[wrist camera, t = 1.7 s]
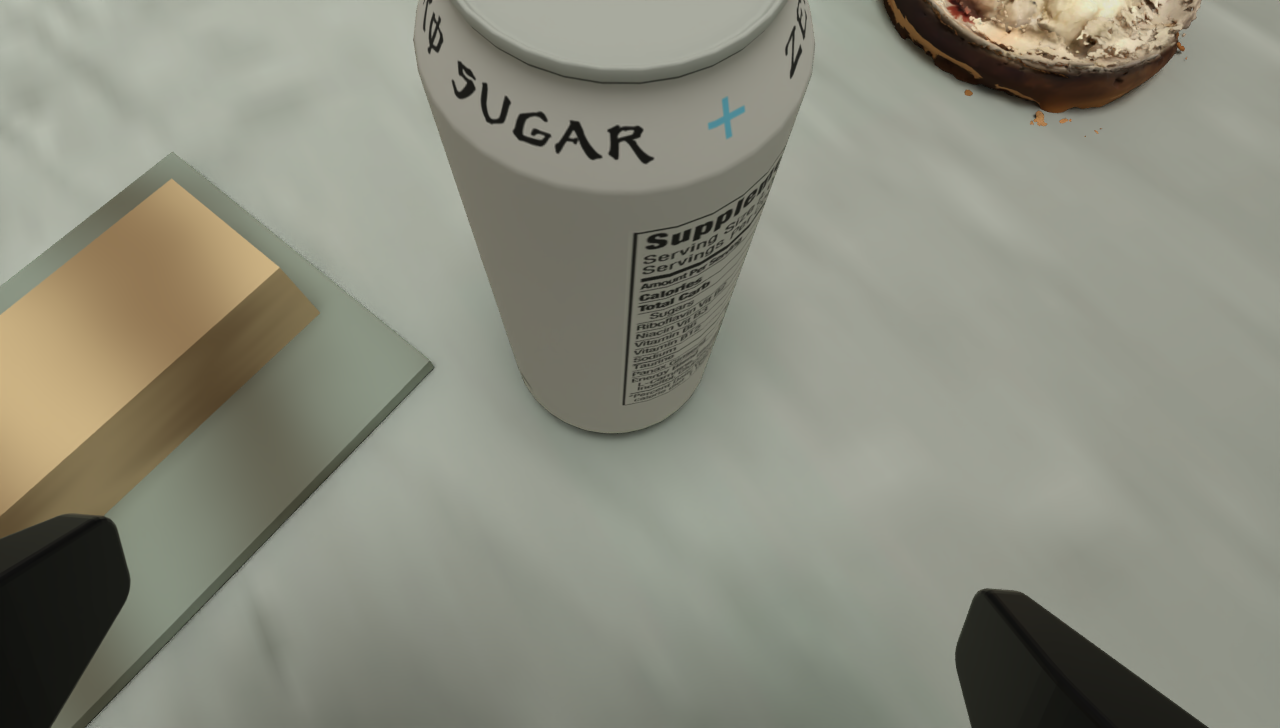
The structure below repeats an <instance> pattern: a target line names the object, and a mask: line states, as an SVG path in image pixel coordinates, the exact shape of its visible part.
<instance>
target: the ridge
mask: <svg viewBox="0 0 1280 728" xmlns="http://www.w3.org/2000/svg"><path fill="white" fill-rule="evenodd" d="M433 368H434V366H433V365H432V363H431V361H430V360H429V359H427V358H426V357H425V356H424V355H422V354H421V353H420V352H419V351H418V350H416V349H415V348H414V347H413V346H411V345H410V344H409V343H408V342H406V341H405V340H404V339H403V338H402V337H400V336H399V335H398V334H397V333H395V332H394V331H393V330H392V329H390V328H389V327H388V326H387V325H386V324H384V323H383V322H382V321H381V320H379V319H378V318H377V317H376V316H374V315H373V314H372V313H371V312H369V311H368V310H367V309H366V308H365V307H363V306H362V305H361V304H360V303H358V302H357V301H356V300H355V299H353V298H352V297H351V296H350V295H349V294H347V293H346V292H345V291H344V290H342V289H341V288H340V287H339V286H337V285H336V284H335V283H334V282H333V281H331V280H330V279H329V278H328V277H326V276H325V275H324V274H323V273H321V272H320V271H319V270H318V269H317V268H315V267H314V266H313V265H312V264H310V263H309V262H308V261H307V260H305V259H304V258H303V257H302V256H300V255H299V254H298V253H297V252H296V251H294V250H293V249H292V248H291V247H289V246H288V245H287V244H286V243H284V242H283V241H282V240H281V239H280V238H278V237H277V236H276V235H275V234H273V233H272V232H271V231H270V230H268V229H267V228H266V227H265V226H264V225H262V224H261V223H260V222H259V221H257V220H256V219H255V218H254V217H252V216H251V215H250V214H249V213H248V212H246V211H245V210H244V209H243V208H241V207H240V206H239V205H238V204H236V203H235V202H234V201H233V200H232V199H230V198H229V197H228V196H227V195H225V194H224V193H223V192H222V191H220V190H219V189H218V188H217V187H215V186H214V185H213V184H212V183H211V182H209V181H208V180H207V179H206V178H204V177H203V176H202V175H201V174H199V173H198V172H197V171H196V170H195V169H193V168H192V167H191V166H190V165H188V164H187V163H186V162H185V161H183V160H182V159H181V158H180V157H179V156H177V155H176V154H175V153H174V152H171V153H170V154H169V155H168V156H166V157H165V158H164V159H162V160H161V161H160V162H159V163H157V164H156V165H155V166H153V167H152V168H151V169H150V170H148V171H147V172H146V173H145V174H143V175H142V176H141V177H139V178H138V179H137V180H136V181H134V182H133V183H132V184H130V185H129V186H128V187H127V188H125V189H124V190H123V191H122V192H120V193H119V194H118V195H116V196H115V197H114V198H113V199H111V200H110V201H109V202H107V203H106V204H105V205H104V206H102V207H101V208H100V209H99V210H97V211H96V212H95V213H93V214H92V215H91V216H90V217H88V218H87V219H86V220H84V221H83V222H82V223H81V224H79V225H78V226H77V227H76V228H74V229H73V230H72V231H70V232H69V233H68V234H67V235H65V236H64V237H63V238H62V239H60V240H59V241H58V242H56V243H55V244H54V245H53V246H51V247H50V248H49V249H47V250H46V251H45V252H44V253H42V254H41V255H40V256H39V257H37V258H36V259H35V260H33V261H32V262H31V263H30V264H28V265H27V266H26V267H24V268H23V269H22V270H21V271H19V272H18V273H17V274H16V275H14V276H13V277H12V278H10V279H9V280H8V281H7V282H5V283H4V284H3V285H1V286H0V538H3V537H5V536H8V535H10V534H13V533H16V532H18V531H21V530H23V529H26V528H28V527H31V526H33V525H36V524H38V523H41V522H44V521H46V520H49V519H51V518H54V517H56V516H59V515H62V514H68V513H77V514H89V515H101V516H105V517H108V518H110V519H111V520H112V521H113V522H114V523H115V524H116V527H117V529H118V533H119V536H120V540H121V544H122V547H123V551H124V555H125V558H126V562H127V566H128V569H129V573H130V578H131V584H130V591H129V594H128V597H127V600H126V602H125V604H124V606H123V608H122V609H121V611H120V613H119V614H118V616H117V618H116V619H115V621H114V623H113V624H112V626H111V628H110V629H109V631H108V633H107V634H106V636H105V638H104V639H103V641H102V643H101V645H100V646H99V648H98V650H97V651H96V653H95V655H94V656H93V658H92V660H91V661H90V663H89V665H88V666H87V668H86V670H85V671H84V673H83V675H82V676H81V678H80V680H79V681H78V683H77V685H76V686H75V688H74V690H73V691H72V693H71V695H70V697H69V698H68V700H67V702H66V703H65V705H64V707H63V708H62V710H61V712H60V713H59V715H58V717H57V718H56V720H55V722H54V723H53V725H52V726H51V728H84V727H85V726H86V725H87V724H88V723H89V722H90V721H91V720H92V719H93V718H94V717H95V716H96V715H97V714H98V713H99V712H100V711H101V710H102V709H103V708H104V707H105V706H106V705H107V704H108V703H109V702H110V701H111V700H112V699H113V698H114V697H115V696H116V694H117V693H118V692H119V691H120V690H121V689H122V688H123V687H124V686H125V685H126V684H127V683H128V682H129V681H130V680H131V679H132V678H133V677H134V676H135V675H136V674H137V673H138V672H139V671H140V670H141V669H142V668H143V667H144V666H145V665H146V664H147V663H148V662H149V661H150V659H151V658H152V657H153V656H154V655H155V654H156V653H157V652H158V651H159V650H160V649H161V648H162V647H163V646H164V645H165V644H166V643H167V642H168V641H169V640H170V639H171V638H172V637H173V636H174V635H175V634H176V633H177V632H178V631H179V630H180V629H181V628H182V627H183V625H184V624H185V623H186V622H187V621H188V620H189V619H190V618H191V617H192V616H193V615H194V614H195V613H196V612H197V611H198V610H199V609H200V608H201V607H202V606H203V605H204V604H205V603H206V602H207V601H208V600H209V599H210V598H211V597H212V596H213V595H214V594H215V593H216V592H217V590H218V589H219V588H220V587H221V586H222V585H223V584H224V583H225V582H226V581H227V580H228V579H229V578H230V577H231V576H232V575H233V574H234V573H235V572H236V571H237V570H238V569H239V568H240V567H241V566H242V565H243V564H244V563H245V562H246V561H247V560H248V559H249V558H250V556H251V555H252V554H253V553H254V552H255V551H256V550H257V549H258V548H259V547H260V546H261V545H262V544H263V543H264V542H265V541H266V540H267V539H268V538H269V537H270V536H271V535H272V534H273V533H274V532H275V531H276V530H277V529H278V528H279V527H280V526H281V525H282V524H283V523H284V521H285V520H286V519H287V518H288V517H289V516H290V515H291V514H292V513H293V512H294V511H295V510H296V509H297V508H298V507H299V506H300V505H301V504H302V503H303V502H304V501H305V500H306V499H307V498H308V497H309V496H310V495H311V494H312V493H313V492H314V491H315V490H316V489H317V487H318V486H319V485H320V484H321V483H322V482H323V481H324V480H325V479H326V478H327V477H328V476H329V475H330V474H331V473H332V472H333V471H334V470H335V469H336V468H337V467H338V466H339V465H340V464H341V463H342V462H343V461H344V460H345V459H346V458H347V457H348V456H349V455H350V454H351V452H352V451H353V450H354V449H355V448H356V447H357V446H358V445H359V444H360V443H361V442H362V441H363V440H364V439H365V438H366V437H367V436H368V435H369V434H370V433H371V432H372V431H373V430H374V429H375V428H376V427H377V426H378V425H379V424H380V423H381V422H382V421H383V420H384V419H385V417H386V416H387V415H388V414H389V413H390V412H391V411H392V410H393V409H394V408H395V407H396V406H397V405H398V404H399V403H400V402H401V401H402V400H403V399H404V398H405V397H406V396H407V395H408V394H409V393H410V392H411V391H412V390H413V389H414V388H415V387H416V386H417V385H418V383H419V382H420V381H421V380H422V379H423V378H424V377H425V376H426V375H427V374H428V373H429V372H430V371H431V370H432V369H433Z"/></svg>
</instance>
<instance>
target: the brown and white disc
mask: <svg viewBox="0 0 1280 728" xmlns="http://www.w3.org/2000/svg"><path fill="white" fill-rule="evenodd" d="M1200 4H1201V0H884V5H885V8H886V11H887V13H888V14H889V17H890V20H891V21H892V23H893V25H894V26H895V29H896V30H897V31H898V33H899V34H900V36H901V37H902V38H903V39H904V40H906V38H910V39H911V40H912V41H913V42H914V44H915V45H916V46H919V47H921V48H922V49H923V50H925V52H926V54H928V55H930V56H931V57H932V58H933V60H934V62H935V65H936V66H938V67H939V68H940V69H942V70H943V71H945V72H948V73H951V74H952V75H954V76H955V77H956V78H957V79H959V80H961V81H964V82H968V83H971V84H975V85H978V84H982V85H984V86H986V87H988V88H991V89H995V90H999V91H1004V92H1006V93H1007V94H1009V95H1014V96H1017V97H1019V98H1023V99H1025V100H1033V101H1036V102H1037V103H1038V104H1039V106H1040V108H1041V109H1042V110H1044V111H1047V112H1052V113H1061V112H1064V111H1066V110H1068V109H1069V108H1072V107H1078V108H1081V109H1085V108H1090V107H1101V106H1103V105H1105V104H1108V103H1109V102H1111V101H1113V100H1115V99H1117V98H1119V97H1121V96H1123V95H1124V94H1125V93H1128V92H1129V91H1130V90H1132V89H1134V88H1136V87H1137V86H1139V85H1141V84H1142V83H1144V82H1145V81H1147V80H1148V79H1149V78H1151V77H1152V76H1153V75H1155V74H1156V73H1157V72H1158V71H1159V70H1160V69H1161V68H1163V67H1164V66H1165V65H1166V63H1167V62H1168V61H1169V60H1170V59H1171V58H1172V57H1173V56H1174V54H1175V52H1176V51H1177V47H1178V48H1179V49H1180V50H1181V51H1184V50H1185V48H1184V46H1181V44H1180V42H1178V36H1179V33H1178V31H1180V30H1182V29H1187V28H1188V27H1189V26H1190V24H1191V22H1192V21H1193V20H1195V19H1196V18H1197V17H1196V12H1197V9H1198V8H1200V6H1199V5H1200ZM1192 7H1193V11H1191V9H1192ZM1185 35H1186V34H1184V33H1183V35H1182V36H1183V37H1184V36H1185ZM1186 59H1187V57H1186ZM972 94H973V93H972V92H971V91H970V90H966V91H965V95H967V96H971V95H972ZM1066 121H1068V120H1067V119H1066V118H1065V119H1062V120H1060V121H1059V122H1060V123H1065V122H1066ZM1069 121H1070V122H1071V119H1070V120H1069ZM1034 122H1038V123H1037V124H1038V125H1039V126H1040V125H1042V126H1046V125H1047V123H1045V122H1044V114H1043V113H1042V112H1041V111H1037V112H1036V119H1034ZM1030 124H1033V121H1031V123H1030ZM1033 125H1034V124H1033ZM1100 129H1102V128H1100ZM1095 132H1096V133H1097V134H1099V133H1098V132H1097V131H1096V130H1095ZM1085 137H1086V136H1085Z"/></svg>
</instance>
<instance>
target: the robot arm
mask: <svg viewBox="0 0 1280 728" xmlns="http://www.w3.org/2000/svg"><path fill="white" fill-rule="evenodd" d="M130 584H131V578H130V573H129V569H128V566H127V562H126V558H125V555H124V551H123V547H122V544H121V540H120V536H119V533H118V529H117V527H116V524H115V523H114V522H113V521H112V520H111V519H110V518H108V517H105V516H101V515H89V514H77V513H68V514H62V515H59V516H56V517H54V518H51V519H49V520H46V521H44V522H41V523H38V524H36V525H33V526H31V527H28V528H26V529H23V530H21V531H18V532H16V533H13V534H10V535H8V536H5V537H3V538H0V728H51V726H52V725H53V723H54V722H55V720H56V718H57V717H58V715H59V713H60V712H61V710H62V708H63V707H64V705H65V703H66V702H67V700H68V698H69V697H70V695H71V693H72V691H73V690H74V688H75V686H76V685H77V683H78V681H79V680H80V678H81V676H82V675H83V673H84V671H85V670H86V668H87V666H88V665H89V663H90V661H91V660H92V658H93V656H94V655H95V653H96V651H97V650H98V648H99V646H100V645H101V643H102V641H103V639H104V638H105V636H106V634H107V633H108V631H109V629H110V628H111V626H112V624H113V623H114V621H115V619H116V618H117V616H118V614H119V613H120V611H121V609H122V608H123V606H124V604H125V602H126V600H127V597H128V594H129V591H130ZM955 662H956V669H957V673H958V677H959V681H960V685H961V689H962V693H963V697H964V700H965V704H966V708H967V712H968V716H969V720H970V724H971V727H972V728H1208V727H1207V726H1206V725H1204V724H1203V723H1202V722H1200V721H1199V720H1197V719H1196V718H1195V717H1193V716H1192V715H1191V714H1189V713H1188V712H1186V711H1185V710H1184V709H1182V708H1181V707H1180V706H1178V705H1177V704H1175V703H1174V702H1173V701H1171V700H1170V699H1169V698H1167V697H1166V696H1164V695H1163V694H1162V693H1160V692H1159V691H1158V690H1156V689H1155V688H1153V687H1152V686H1151V685H1149V684H1148V683H1147V682H1145V681H1144V680H1142V679H1141V678H1140V677H1138V676H1137V675H1135V674H1134V673H1133V672H1131V671H1130V670H1129V669H1127V668H1126V667H1124V666H1123V665H1122V664H1120V663H1119V662H1118V661H1116V660H1115V659H1113V658H1112V657H1111V656H1109V655H1108V654H1107V653H1105V652H1104V651H1102V650H1101V649H1100V648H1098V647H1097V646H1096V645H1094V644H1093V643H1091V642H1090V641H1089V640H1087V639H1086V638H1085V637H1083V636H1082V635H1080V634H1079V633H1078V632H1076V631H1075V630H1074V629H1072V628H1071V627H1069V626H1068V625H1067V624H1065V623H1064V622H1063V621H1061V620H1060V619H1058V618H1057V617H1056V616H1054V615H1053V614H1052V613H1050V612H1049V611H1047V610H1046V609H1045V608H1043V607H1042V606H1041V605H1039V604H1038V603H1036V602H1035V601H1034V600H1032V599H1031V598H1030V597H1028V596H1027V595H1025V594H1024V593H1021V592H1018V591H1014V590H1001V589H989V588H986V589H982V590H980V591H978V592H977V593H976V595H975V596H974V598H973V600H972V603H971V606H970V609H969V611H968V614H967V617H966V620H965V622H964V625H963V628H962V631H961V634H960V636H959V639H958V642H957V646H956V652H955Z"/></svg>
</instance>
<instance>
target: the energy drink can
mask: <svg viewBox="0 0 1280 728" xmlns="http://www.w3.org/2000/svg"><path fill="white" fill-rule="evenodd" d="M413 41H414V47H415V54H416V60H417V67H418V72H419V75H420V78H421V81H422V84H423V87H424V90H425V93H426V96H427V99H428V102H429V105H430V108H431V111H432V114H433V117H434V119H435V122H436V125H437V128H438V131H439V134H440V137H441V140H442V143H443V146H444V149H445V152H446V155H447V158H448V161H449V164H450V167H451V170H452V173H453V176H454V179H455V182H456V185H457V188H458V191H459V194H460V197H461V199H462V202H463V205H464V208H465V211H466V214H467V217H468V220H469V223H470V226H471V229H472V232H473V235H474V238H475V241H476V244H477V247H478V250H479V253H480V256H481V259H482V262H483V265H484V268H485V271H486V274H487V277H488V279H489V282H490V285H491V288H492V291H493V294H494V297H495V300H496V303H497V306H498V309H499V312H500V315H501V318H502V321H503V324H504V327H505V330H506V333H507V336H508V339H509V342H510V345H511V348H512V351H513V354H514V357H515V359H516V362H517V365H518V368H519V371H520V373H521V375H522V378H523V380H524V383H525V385H526V386H527V387H528V389H529V390H530V392H531V393H532V395H533V396H534V398H535V399H536V400H537V401H538V402H539V403H540V404H541V405H542V406H543V407H544V408H545V409H546V410H547V411H548V412H550V413H551V414H553V415H554V416H556V417H558V418H559V419H561V420H562V421H564V422H566V423H568V424H571V425H573V426H576V427H578V428H581V429H584V430H588V431H594V432H600V433H626V432H631V431H635V430H640V429H644V428H646V427H649V426H651V425H654V424H656V423H658V422H661V421H662V420H664V419H665V418H667V417H668V416H670V415H671V414H673V413H674V412H676V411H677V410H678V409H679V408H680V407H681V406H682V405H683V404H684V403H685V402H686V401H687V400H688V399H689V398H690V397H691V395H692V394H693V392H694V391H695V389H696V387H697V386H698V384H699V383H700V381H701V378H702V376H703V373H704V370H705V368H706V365H707V362H708V359H709V357H710V354H711V351H712V348H713V346H714V343H715V340H716V337H717V335H718V332H719V329H720V326H721V324H722V321H723V318H724V315H725V312H726V310H727V307H728V304H729V301H730V299H731V296H732V293H733V290H734V288H735V285H736V282H737V279H738V277H739V274H740V271H741V268H742V266H743V263H744V260H745V257H746V255H747V252H748V249H749V246H750V244H751V241H752V238H753V235H754V233H755V230H756V227H757V224H758V222H759V219H760V216H761V213H762V210H763V208H764V205H765V202H766V199H767V197H768V194H769V191H770V188H771V186H772V183H773V180H774V177H775V175H776V172H777V169H778V166H779V164H780V161H781V158H782V155H783V153H784V150H785V147H786V144H787V142H788V139H789V136H790V133H791V131H792V128H793V125H794V122H795V120H796V117H797V114H798V111H799V108H800V106H801V103H802V100H803V97H804V95H805V92H806V89H807V86H808V84H809V81H810V78H811V75H812V69H813V60H814V50H815V39H814V32H813V25H812V18H811V12H810V7H809V4H808V1H807V0H419V2H418V5H417V10H416V20H415V29H414V39H413Z"/></svg>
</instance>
